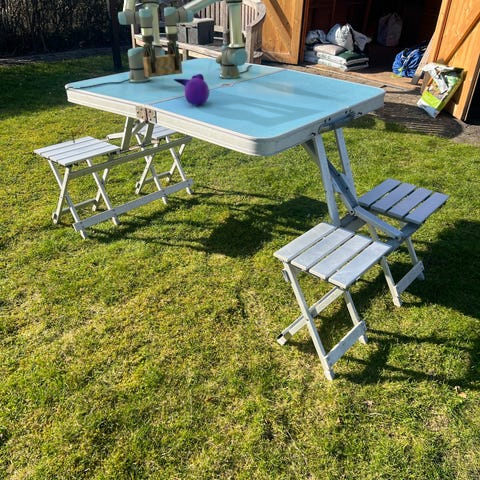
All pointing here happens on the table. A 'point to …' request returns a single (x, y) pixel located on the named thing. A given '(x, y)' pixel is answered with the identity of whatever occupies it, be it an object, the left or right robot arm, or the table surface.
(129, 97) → the table surface
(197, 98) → the toy
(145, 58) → the box
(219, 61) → the teapot
